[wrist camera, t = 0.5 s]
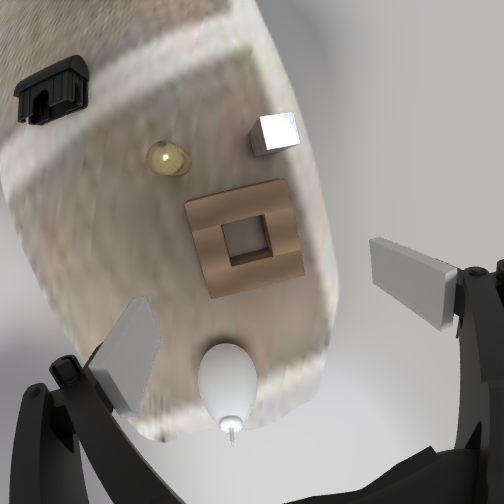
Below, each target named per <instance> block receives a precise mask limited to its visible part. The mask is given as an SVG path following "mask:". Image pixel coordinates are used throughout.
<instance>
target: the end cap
mask: <svg viewBox="0 0 504 504" xmlns="http://www.w3.org/2000/svg"><path fill="white" fill-rule="evenodd" d="M88 80H89V76H88V70H87V66H86V63H85V61H84V60H83V58H82V57H81V56H79V55H73V56H71V57H68V58H66V59H64V60H61V61H59V62H57V63H55V64H53V65H51V66H49V67H47V68H45V69H43V70H41V71H39V72H37V73H35V74H33V75H31V76H29V77H27V78H26V79H24V80H22V81H20V82H19V83H18V84H17V86H16V88H15V90H14V95H13V96H15V97H18V98H19V107H18V122H20V123H25V122H26V118H27V117H29V124H30V125H37V124H38V125H43V124H46V123H48V122H50V121H53V120H55V119H58V118H60V117H63V116H65V115H68V114H71V113H73V112H76V111H79V110H81V109H84V108H86V107H87V105H88Z"/></svg>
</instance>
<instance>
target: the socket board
mask: <svg viewBox="0 0 504 504" xmlns="http://www.w3.org/2000/svg"><path fill="white" fill-rule="evenodd" d="M184 205H185V209H186V213H187V217H188V220H189V224H190V228H191V231H192V235H193V239H194V242H195V246H196V249H197V253H198V256H199V260H200V263H201V267H202V270H203V274H204V277H205V280H206V284H207V287H208V290H209V293H210V297H211V299H214V298H218V297H222V296H226V295H230V294H234V293H238V292H242V291H246V290H250V289H254V288H258V287H262V286H266V285H270V284H274V283H277V282H281V281H285V280H289V279H292V278H296V277H300V276H304V275H305V271H304V265H303V259H302V254H301V248H300V242H299V237H298V232H297V226H296V221H295V216H294V211H293V206H292V201H291V196H290V191H289V186H288V182H287V179H276V180H271V181H267V182H262V183H258V184H253V185H249V186H244V187H240V188H236V189H232V190H228V191H223V192H219V193H215V194H211V195H208V196H204V197H200V198H196V199H192V200H189V201H187V202H185V203H184ZM258 215H261V218H262V222H263V227H264V232H265V236H266V241H267V245H268V248H266V249H262V250H258V251H254V252H250V253H246V254H242V255H238V256H234V257H230V256H229V252H228V248H227V244H226V240H225V237H224V233H223V229H222V224H226V223H230V222H234V221H238V220H242V219H246V218H250V217H254V216H258Z"/></svg>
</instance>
